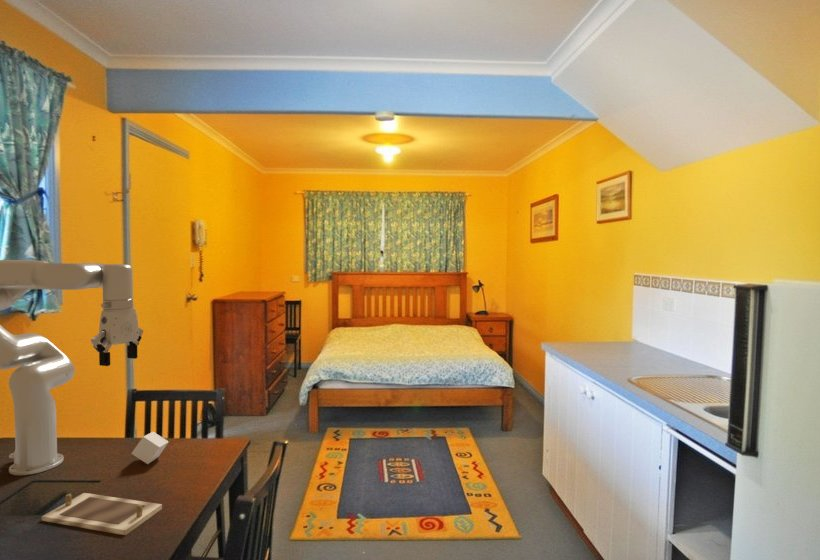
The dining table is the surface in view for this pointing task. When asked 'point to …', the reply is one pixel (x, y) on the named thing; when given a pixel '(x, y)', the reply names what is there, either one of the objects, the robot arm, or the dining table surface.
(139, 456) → the white cube
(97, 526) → the serving tray
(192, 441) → the dining table surface
